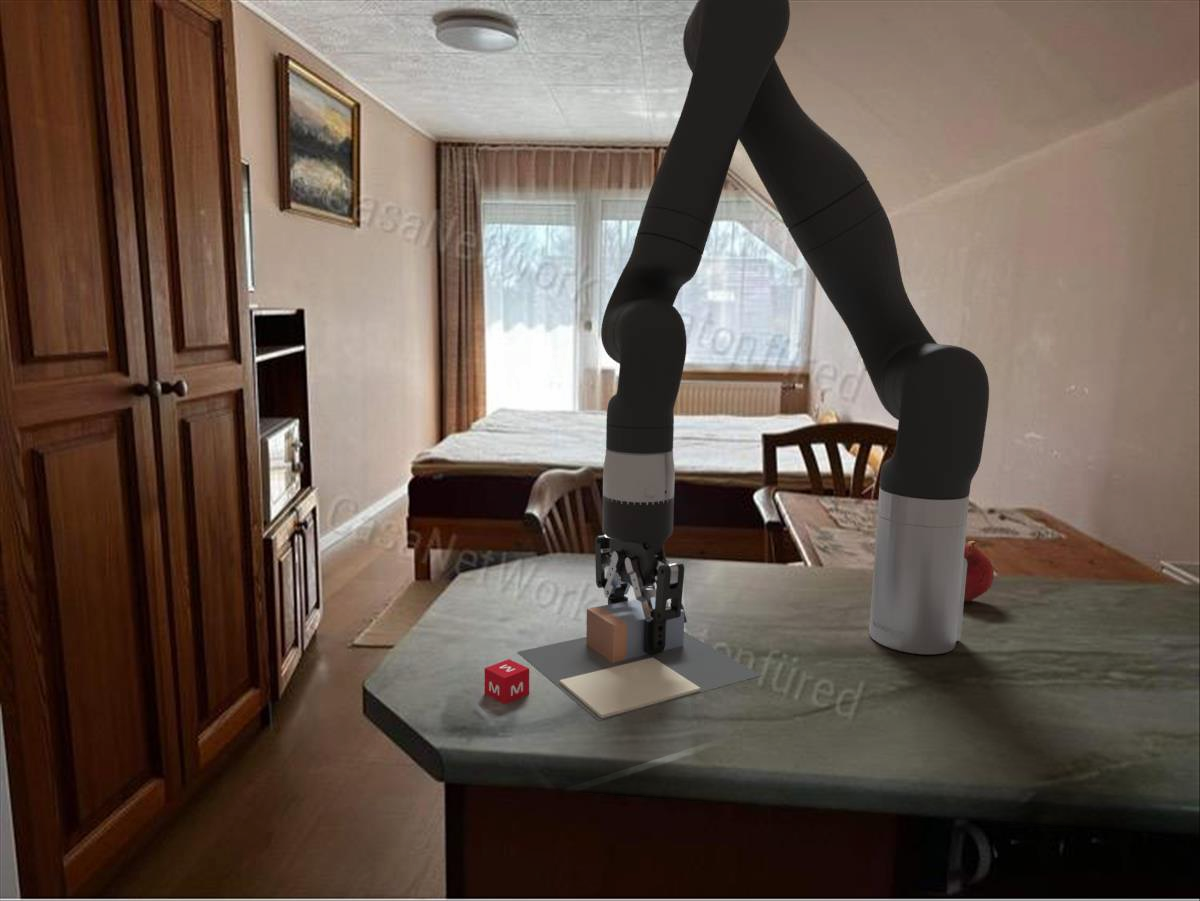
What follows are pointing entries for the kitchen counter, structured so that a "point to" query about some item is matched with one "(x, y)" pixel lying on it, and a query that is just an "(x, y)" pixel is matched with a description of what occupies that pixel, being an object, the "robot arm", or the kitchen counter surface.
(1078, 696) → the kitchen counter surface
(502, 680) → the red letter m cube
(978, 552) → the onion
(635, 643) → the card box
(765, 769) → the kitchen counter surface
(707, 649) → the mat
